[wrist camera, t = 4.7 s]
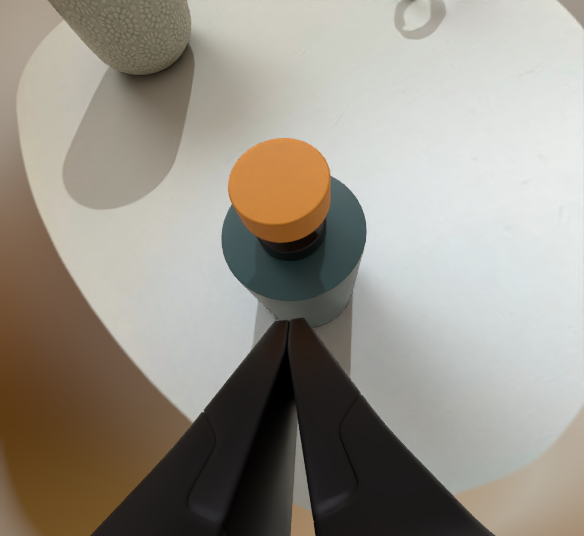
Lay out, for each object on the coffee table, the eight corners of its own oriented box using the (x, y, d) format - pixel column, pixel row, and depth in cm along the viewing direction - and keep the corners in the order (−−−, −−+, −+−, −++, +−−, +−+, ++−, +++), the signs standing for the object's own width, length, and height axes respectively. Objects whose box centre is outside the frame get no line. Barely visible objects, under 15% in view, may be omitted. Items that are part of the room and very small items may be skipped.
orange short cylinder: (334, 239, 11) (335, 220, 10) (238, 247, 12) (225, 231, 10) (326, 158, 13) (326, 131, 11) (239, 168, 13) (228, 143, 12)
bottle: (358, 325, 21) (380, 288, 12) (261, 330, 22) (209, 300, 13) (347, 235, 24) (359, 145, 14) (260, 243, 25) (216, 163, 15)
